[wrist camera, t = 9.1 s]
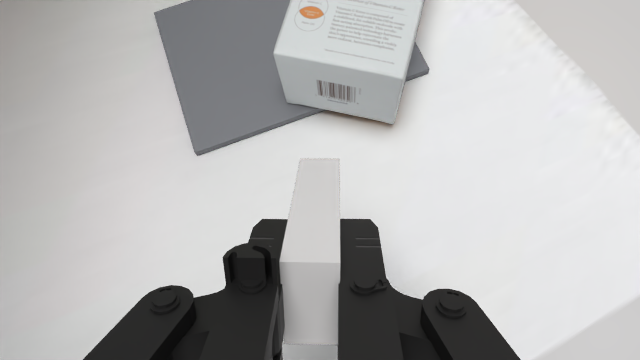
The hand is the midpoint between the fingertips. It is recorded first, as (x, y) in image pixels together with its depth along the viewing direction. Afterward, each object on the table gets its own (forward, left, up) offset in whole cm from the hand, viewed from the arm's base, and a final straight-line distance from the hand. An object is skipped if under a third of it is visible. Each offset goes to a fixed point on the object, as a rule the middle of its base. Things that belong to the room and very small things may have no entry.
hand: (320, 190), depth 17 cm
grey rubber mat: (-16, +2, -12) cm, 20 cm away
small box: (-8, +4, -9) cm, 12 cm away
